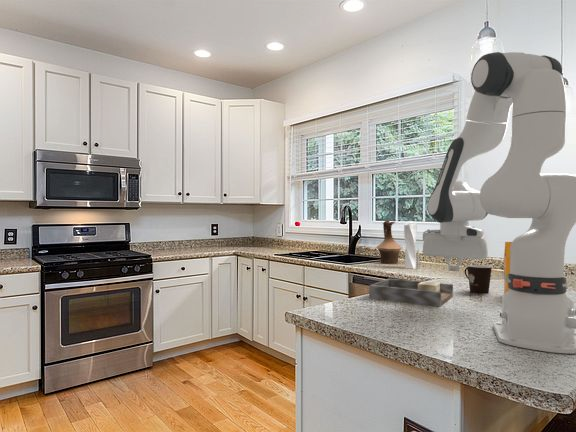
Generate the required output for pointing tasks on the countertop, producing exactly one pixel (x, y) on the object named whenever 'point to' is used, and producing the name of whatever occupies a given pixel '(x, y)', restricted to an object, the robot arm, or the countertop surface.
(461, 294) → the countertop surface
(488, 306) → the countertop surface
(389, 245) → the brown vase
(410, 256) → the skyscraper
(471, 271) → the coffee mug
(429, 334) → the countertop surface
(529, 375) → the countertop surface
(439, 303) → the grey tray
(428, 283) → the birch block
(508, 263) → the orange juice
